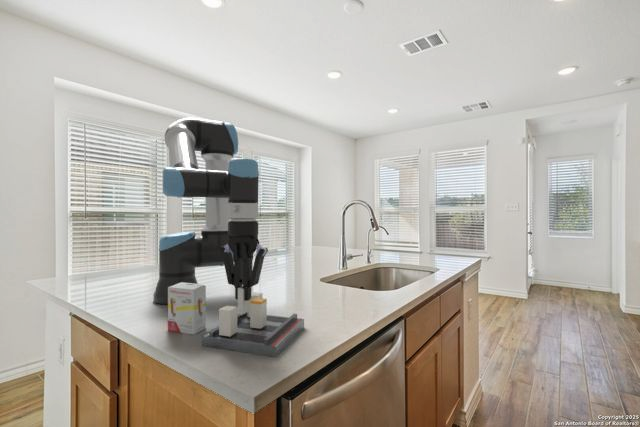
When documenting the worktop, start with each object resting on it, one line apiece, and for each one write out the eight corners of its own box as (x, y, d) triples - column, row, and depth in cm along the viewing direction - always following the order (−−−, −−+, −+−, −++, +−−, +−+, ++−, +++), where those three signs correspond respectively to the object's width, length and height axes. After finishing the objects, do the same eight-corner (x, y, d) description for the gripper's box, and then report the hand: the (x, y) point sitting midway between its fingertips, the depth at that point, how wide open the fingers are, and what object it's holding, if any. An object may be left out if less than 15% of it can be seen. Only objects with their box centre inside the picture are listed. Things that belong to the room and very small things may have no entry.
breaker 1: (219, 335, 74) (219, 309, 74) (226, 330, 77) (226, 305, 77) (230, 336, 73) (230, 310, 73) (237, 331, 76) (237, 306, 76)
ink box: (166, 331, 83) (166, 286, 83) (180, 324, 87) (180, 281, 87) (193, 335, 80) (193, 288, 80) (206, 328, 85) (206, 284, 85)
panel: (201, 345, 74) (201, 330, 74) (242, 319, 91) (242, 307, 91) (276, 357, 69) (276, 341, 69) (304, 327, 86) (304, 314, 86)
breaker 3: (250, 327, 79) (250, 300, 79) (256, 323, 82) (256, 297, 82) (261, 328, 78) (261, 302, 78) (266, 324, 81) (266, 298, 81)
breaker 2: (247, 316, 86) (247, 294, 86) (252, 313, 89) (252, 292, 89) (257, 318, 86) (257, 295, 85) (262, 314, 88) (262, 293, 88)
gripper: (212, 220, 79) (212, 314, 79) (259, 221, 75) (259, 320, 75) (229, 219, 86) (229, 305, 86) (273, 220, 82) (272, 310, 83)
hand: (243, 312), depth 81 cm, fingers closed
